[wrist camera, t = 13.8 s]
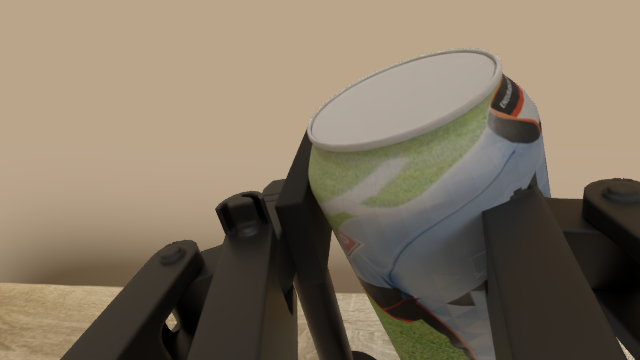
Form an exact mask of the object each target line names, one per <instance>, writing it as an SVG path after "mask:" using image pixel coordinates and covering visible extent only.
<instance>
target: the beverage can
mask: <svg viewBox="0 0 640 360" xmlns="http://www.w3.org/2000/svg"><path fill="white" fill-rule="evenodd" d="M307 133H308V136H309V139H310V141H311V142H312V143H313V144H312V149H311V155H310V161H309V171H308V174H309V181H310V185H311V189H312V192H313V194H314V196H315V198H316V200H317V202H318V204H319V206H320V207H321V209H322V211H323V213H324V215H325V217H326V219H327V221H328V223H329V225H330V226H331V228H332V230H333V232H334V234H335V236H336V238H337V240H338V242H339V243H340V245H341V247H342V249H343V251H344V253H345V255H346V257H347V259H348V260H349V262H350V264H351V266H352V268H353V270H354V272H355V274H356V276H357V278H358V279H359V281H360V283H361V285H362V287H363V289H364V291H365V293H366V295H367V297H368V298H369V300H370V302H371V304H372V306H373V308H374V310H375V312H376V314H377V315H378V317H379V319H380V321H381V323H382V325H383V327H384V329H385V331H386V333H387V334H388V336H389V338H390V340H391V342H392V344H393V346H394V348H395V350H396V352H397V353H398V355H399V357H400V359H401V360H496V358H495V352H494V346H493V340H492V333H491V327H490V321H489V315H488V309H487V303H486V297H485V280H488V277H487V255H486V245H485V238H484V233H483V224H482V211H484V210H487V209H490V208H492V207H495V206H497V205H500V204H502V203H505V202H507V201H509V200H510V197H511V196H512V195H514V193H513V191H515V190H517V189H519V188H521V187H522V190H523V189H524V188H525V189H526V190H527V189H528V185H529V184H532V185H533V184H534V185H536V186H537V187H538V188H539V189H540V190H541V192H542V194H543V196H544V197H548V198H551V194H550V188H549V180H548V173H547V165H546V158H545V151H544V143H543V136H542V129H541V122H540V118H539V114H538V110H537V107H536V105H535V104H534V102H533V101H532V100H531V99H530V97H529V96H528V95H527V93H526V92H525V91H524V90H523V89H522V88H521V87H520V86H518V85H517V84H516V83H515V82H513V81H512V80H511V79H509V78H508V77H507V76H505V75H504V74H503V72H502V63H501V61H500V59H499V58H498V57H497V55H495V54H494V53H491V52H489V51H486V50H482V49H472V48H465V49H453V50H446V51H440V52H435V53H430V54H426V55H422V56H419V57H415V58H412V59H409V60H405V61H402V62H400V63H397V64H394V65H392V66H389V67H386V68H384V69H382V70H379V71H377V72H375V73H373V74H371V75H369V76H366V77H364V78H363V79H361V80H359V81H357V82H355V83H353V84H351V85H350V86H348V87H346V88H345V89H343V90H342V91H340V92H339V93H337V94H336V95H334V96H333V97H332V98H330V99H329V100H328V101H327V102H325V103H324V104H323V105H322V106H321V107H320V108H319V109H318V110H317V111H316V112H315V114H314V115H313V116H312V118H311V119H310V122H309V124H308V128H307Z"/></svg>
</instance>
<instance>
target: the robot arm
mask: <svg viewBox="0 0 640 360" xmlns="http://www.w3.org/2000/svg"><path fill="white" fill-rule="evenodd" d="M307 128H308V127H307ZM312 144H313V143H312V142H311V141H310V139H309V136H308V133H307V130H306V132H305V135H304V137H303V139H302V142H301V144H300V147H299V149H298V151H297V154H296V156H295V158H294V161H293V164H292V166H291V168H290V170H289V173H288V176H287V178H286V179H282V180H276V181H272V182H271V183H270V184H269V185H268V186H267V187H266V188H265V189H264V190H263V192H262V193H260V192H257V191H249V192H242V193H239V194H236V195H233V196H231V197H229V198H227V199H225V200H224V201H223V202H221V203H220V204H219V205H218V206H217V207H216V209H215V210H216V213H217V215H218V217H219V220H220V222H221V224H222V227H223V230H224V232H225V234H226V236H225V239H224V242H223V244H222V245H219V246H216V247H214V248H210V249H207V250H204V251H201V252H200V250H199V248H198V246H197V244H196V242H194V241H192V240H183V241H176V242H173V243H172V244H168V245H166V246H165V247H164V248H162V249H161V250H159V251H158V252H157V253H156V254H155V255H153V256H152V257H151V258H150V260H148V262H147V263H146V264H145V265H144V266H143V267H142V268H141V270H140V271H139V272H138V273H137V274H136V275H135V276H134V277H133V278H132V280H131V281H130V282H129V283H128V284H127V285H126V286H125V287H124V288H123V290H122V291H121V292H120V293H119V294H118V295H117V296H116V297H115V299H114V300H113V301H112V302H111V303H110V304H109V305H108V306H107V308H106V309H105V310H104V311H103V312H102V313H101V314H100V315H99V317H98V318H97V319H96V320H95V321H94V322H93V323H92V324H91V325H90V327H89V328H88V329H87V330H86V331H85V332H84V333H83V334H82V336H81V337H80V338H79V339H78V340H77V341H76V342H75V343H74V345H73V346H72V347H71V348H70V349H69V350H68V351H67V352H66V354H65V355H64V356H63V357H62V358H61V359H60V360H298V325H297V294H296V291H295V288H294V285H293V280H294V276H295V272H296V274H297V277H298V280H299V283H300V285H308V284H318V283H325V282H326V274H327V265H328V257H329V249H330V241H331V233H332V228H331V226H330V225H329V223H328V221H327V219H326V217H325V215H324V213H323V211H322V209H321V207H320V206H319V204H318V202H317V200H316V198H315V196H314V194H313V192H312V189H311V185H310V181H309V174H308V171H309V161H310V155H311V149H312ZM513 193H514V195H512V196H511V197H510V200H509V201H507V202H505V203H502V204H500V205H497V206H495V207H492V208H490V209H487V210H484V211H482V224H483V233H484V238H485V245H486V255H487V277H488V280H485V297H486V303H487V309H488V315H489V321H490V327H491V333H492V340H493V346H494V352H495V358H496V360H628V359H627V358H626V356H625V354H624V352H623V350H622V348H621V346H620V344H619V342H618V340H619V341H620V342H621V343H622V344H623V346H624V347H625V348H626V349H627V350H628V351H629V353H630V354H631V355H632V356H633V357H634V358H635V360H640V182H638V181H634V180H632V179H624V178H623V179H621V178H613V179H605V180H599V181H596V182H592V183H590V184H589V185H587V186H586V187H585V188H584V195H583V199H559V198H548V197H544V196H543V194H542V192H541V190H540V189H539V188H538V187H537V186H536V185H534V184H533V185H532V184H529V185H528V189H527V190H526V189H525V188H524V189H523V190H522V187H521V188H519V189H517V190H515V191H513ZM171 312H172V314H173V315H174V317H175V319H176V321H177V324H176V325H175V327H174V328H173V329H172V330H170V329H169V328H168V326H167V324H166V323H165V321H166V319H167V318H168V316H169V315H170V313H171ZM616 337H617V338H618V340H617V338H616Z"/></svg>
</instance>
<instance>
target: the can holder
mask: <svg viewBox="0 0 640 360" xmlns="http://www.w3.org/2000/svg"><path fill="white" fill-rule="evenodd" d="M293 282H294V285H295V288H296V291H297V294H298V297H299V300H300V303H301V306H302V309H303V312H304V315H305V318H306V321H307V324H308V327H309V330H310V333H311V336H312V339H313V342H314V345H315V348H316V351H317V354H318V357H319V360H376V359H375V358H373V357H372V356H370V355H368V354H366V353H363V352H359V351H351V349H350V345H349V342H348V338H347V334H346V331H345V327H344V324H343V320H342V316H341V313H340V309H339V305H338V302H337V298H336V295H335V291H334V287H333V284H332V280H331V277H330V273H329V269H328V266H327V274H326V282H325V283H318V284H308V285H300V283H299V280H298V277H297V274H296V272H295V276H294V280H293Z"/></svg>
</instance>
